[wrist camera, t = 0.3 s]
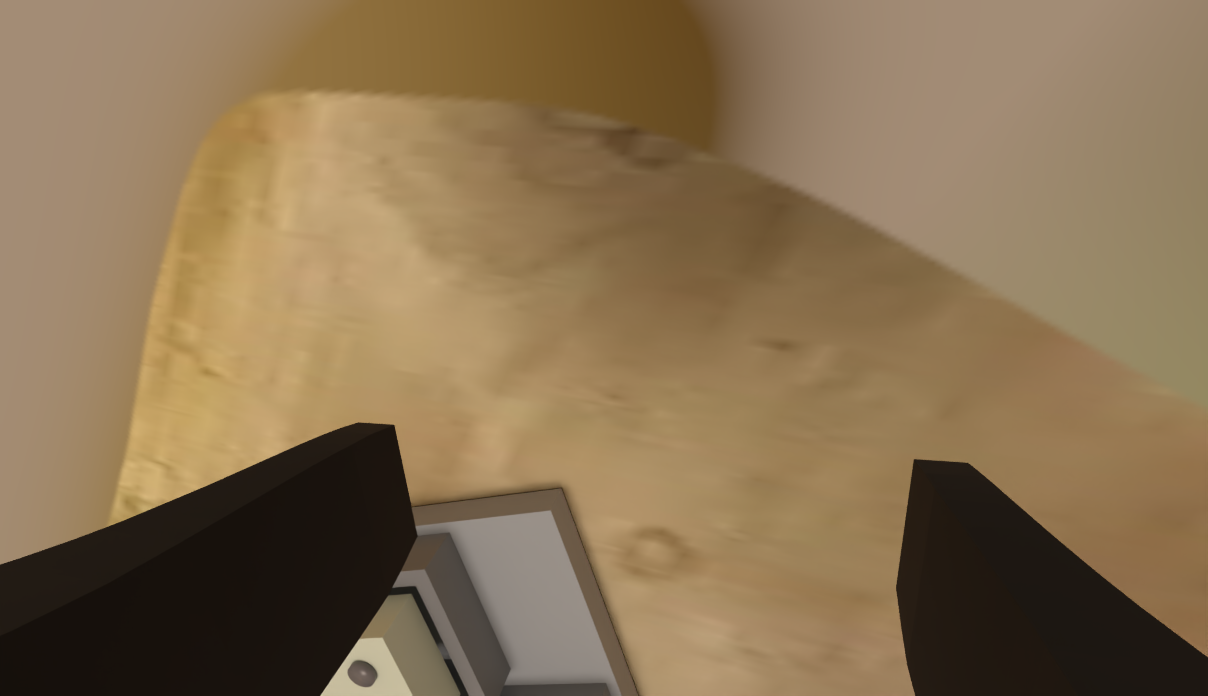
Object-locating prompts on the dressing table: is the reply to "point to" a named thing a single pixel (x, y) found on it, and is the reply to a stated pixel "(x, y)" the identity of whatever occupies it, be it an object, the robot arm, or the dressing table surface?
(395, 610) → the tile sage
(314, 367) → the dressing table surface
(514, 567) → the stacking puzzle board
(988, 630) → the robot arm
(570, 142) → the dressing table surface
